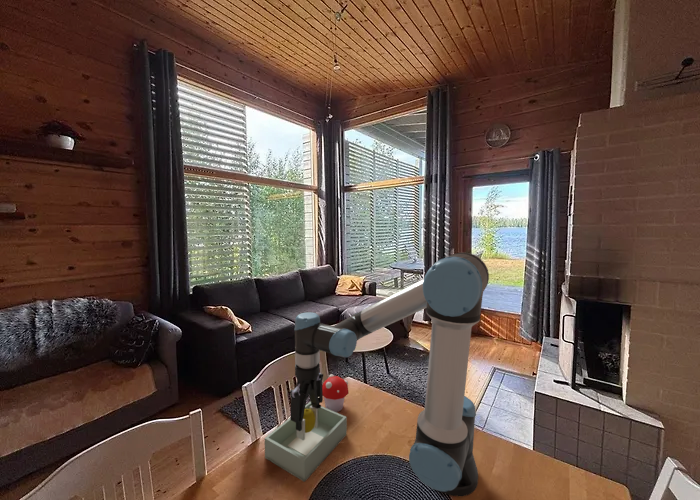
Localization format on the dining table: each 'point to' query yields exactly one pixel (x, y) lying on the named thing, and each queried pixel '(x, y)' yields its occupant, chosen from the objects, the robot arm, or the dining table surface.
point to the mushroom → (334, 392)
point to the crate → (305, 443)
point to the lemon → (309, 420)
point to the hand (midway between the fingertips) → (307, 431)
